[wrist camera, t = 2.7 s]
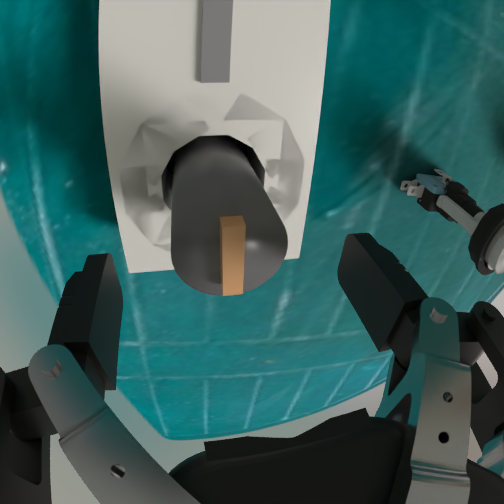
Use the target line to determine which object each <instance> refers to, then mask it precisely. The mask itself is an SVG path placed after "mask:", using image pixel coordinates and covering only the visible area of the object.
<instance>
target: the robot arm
mask: <svg viewBox="0 0 504 504" xmlns="http://www.w3.org/2000/svg"><path fill="white" fill-rule="evenodd" d="M338 280H339V283H340V285H341V287H342V289H343V290H344V292H345V294H346V295H347V297H348V299H349V300H350V302H351V304H352V306H353V307H354V309H355V311H356V312H357V314H358V316H359V318H360V319H361V321H362V323H363V324H364V326H365V328H366V330H367V331H368V333H369V335H370V337H371V339H372V340H373V342H374V344H375V346H376V347H377V349H378V351H379V352H382V351H385V350H389V349H392V351H393V352H394V353H393V355H392V357H391V359H390V364H389V369H388V374H387V379H386V384H385V389H384V393H383V398H382V401H381V404H380V407H379V408H378V410H377V412H376V414H375V416H374V417H369V415H368V413H367V411H366V408H363V409H360V410H357V411H353V412H351V413H347V414H343V415H340V416H337V417H333V418H330V419H328V420H326V421H325V422H323V423H321V424H319V425H318V426H315V427H314V428H312V429H310V430H308V431H306V432H304V433H302V434H300V435H298V436H296V437H293V438H268V437H267V438H266V437H249V436H246V437H240V438H233V439H225V440H218V441H208V442H204V445H205V451H203V452H200V453H198V454H196V455H193V456H192V457H189V458H187V459H186V460H184V461H183V462H181V463H180V464H178V465H177V466H176V467H175V468H173V469H172V470H171V471H170V472H169V473H167V472H166V471H165V470H164V469H163V468H162V467H161V466H160V465H159V464H158V463H157V462H156V461H155V460H154V459H153V458H152V457H151V456H150V455H149V453H147V451H146V450H145V449H144V448H143V447H142V446H141V445H140V444H139V442H138V441H137V440H136V439H135V438H134V437H133V436H132V434H131V433H130V432H129V431H128V430H127V428H126V427H125V426H124V425H123V424H122V422H121V421H120V420H119V419H118V418H117V417H116V415H115V414H114V413H113V411H112V410H111V409H110V408H109V406H108V405H107V404H106V403H105V401H104V394H105V390H116V376H117V361H118V348H119V337H120V328H121V319H122V310H123V296H122V290H121V286H120V283H119V279H118V276H117V272H116V269H115V265H114V261H113V258H112V255H111V254H110V253H106V254H95V255H88V257H87V259H86V262H85V265H84V268H83V271H79V272H75V273H74V274H73V275H72V276H71V278H70V279H69V280H68V281H67V282H66V285H65V288H64V291H63V294H62V297H61V300H60V303H59V308H58V309H57V313H56V316H55V319H54V323H53V326H52V330H51V334H50V338H49V341H48V345H47V346H45V347H43V348H41V349H40V350H38V351H37V352H36V353H35V354H34V356H33V357H32V359H31V360H30V363H29V366H28V367H25V368H22V369H18V370H15V371H12V372H9V373H5V372H4V371H3V370H2V368H1V367H0V504H52V502H51V485H50V435H53V434H56V433H59V435H60V439H59V444H60V446H61V448H62V450H63V452H64V453H65V455H66V456H67V458H68V460H69V461H70V462H71V464H72V465H73V467H74V468H75V470H76V471H77V473H78V474H79V476H80V477H81V478H82V480H83V481H84V483H85V484H86V485H87V487H88V488H89V489H90V491H91V492H92V493H93V495H94V496H95V497H96V498H97V500H98V501H99V502H100V504H504V317H503V316H502V315H501V313H500V312H499V311H498V310H497V309H496V308H495V307H494V306H493V305H491V304H490V303H487V302H484V301H479V302H477V303H475V305H474V306H473V308H472V310H471V311H470V313H467V312H456V311H455V310H454V308H453V307H452V306H451V305H450V304H449V303H447V302H446V301H444V300H442V299H440V298H435V297H430V298H429V297H428V296H427V295H426V293H425V292H424V291H423V290H422V288H421V287H420V286H419V284H418V283H417V282H416V281H415V280H414V278H413V277H412V276H411V275H410V273H409V272H407V271H406V268H405V267H404V266H403V265H402V264H400V261H399V260H398V259H397V258H396V257H395V255H394V254H393V253H392V252H390V251H389V250H387V249H386V248H384V247H383V246H381V245H379V244H378V243H377V241H376V240H375V239H374V238H373V237H372V236H371V235H370V234H369V233H357V234H348V235H347V237H346V239H345V243H344V247H343V251H342V255H341V258H340V262H339V266H338ZM483 352H485V353H486V355H487V357H488V358H489V360H490V361H491V363H492V365H493V366H494V368H495V370H496V371H497V374H498V382H497V384H496V386H495V387H494V388H493V389H492V388H491V386H490V384H489V383H488V381H487V379H486V377H485V376H484V374H483V372H482V370H481V369H480V367H479V366H478V364H477V362H476V361H477V360H478V359H479V357H480V356H481V355H482V354H483ZM470 427H471V429H472V431H473V433H474V435H475V437H476V440H477V442H478V444H479V446H480V449H481V451H482V457H480V458H479V459H478V461H477V463H475V462H473V461H471V460H469V459H467V455H468V446H469V434H470Z"/></svg>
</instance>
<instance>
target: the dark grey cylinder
mask: <svg viewBox="0 0 504 504" xmlns="http://www.w3.org/2000/svg"><path fill="white" fill-rule="evenodd" d="M287 248H288V236H287V232H286V229H285V226H284V224H283V222H282V220H281V218H280V217H279V215H278V213H277V211H276V209H275V208H274V206H273V204H272V202H271V200H270V199H269V197H268V195H267V193H266V191H265V190H264V188H263V186H262V184H261V183H260V181H259V179H258V177H257V175H256V174H255V172H254V170H253V168H252V167H251V165H250V163H249V161H248V160H247V158H246V156H245V155H244V153H243V151H242V149H241V148H240V146H239V144H238V142H237V141H236V139H235V138H233V137H232V136H230V135H211V136H198V137H197V138H195V139H193V140H192V141H190V142H188V143H187V144H185V145H184V146H182V147H180V148H179V149H177V150H176V151H175V152H174V165H173V183H172V208H171V260H172V264H173V267H174V269H175V271H176V273H177V274H178V276H179V277H180V278H181V279H182V280H183V281H184V282H185V283H186V284H187V285H189V286H190V287H192V288H194V289H196V290H198V291H200V292H203V293H207V294H211V295H222V296H227V295H236V294H243V293H244V292H247V291H250V290H252V289H254V288H256V287H258V286H260V285H261V284H263V283H264V282H266V281H267V280H268V279H270V278H271V277H272V276H273V275H274V274H275V273H276V272H277V270H278V269H279V268H280V266H281V265H282V263H283V261H284V259H285V256H286V253H287Z"/></svg>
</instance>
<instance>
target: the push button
mask: <svg viewBox="0 0 504 504" xmlns="http://www.w3.org/2000/svg"><path fill="white" fill-rule="evenodd" d="M434 171H435V172H437V173H438V174H440V175H441V176H443V177H441V176H434V175H426V174H417V176H416V179H415V180H413V181H402V184H401V188H400V189H401V190H408V191H407V195H412V196H416V197H417V198H418V200H417V203H418V204H420V205H421V206H422V207H423V208H424V209H425V210H427V211H435V212H439V213H440V214H441V215H442V216H443V217H445V218H446V219H447V220H448V221H455V222H456V223H459V224H460V225H461V226H462V227H463V228H464V229H465V230H466V231H468V232H469V234H470V243H469V247H468V249H469V252H470V256H471V259H472V260H473V261H474V263H475V265H476V269H477V270H478V271H479V272H480V273H481V274H482V275H487V274H490V273H492V272H494V271H495V272H496V273H499V274H501V273H503V272H504V204H500V205H498V206H495V207H493V208H491V209H489V210H487V211H486V212H485V211H483V210H482V209H481V208H480V207H479V206H477V205H476V201H475V200H473V199H472V198H471V197H470V196H468V192H469V191H468V189H466V188H465V187H464V186H463V185H462V184H460V183H458V182H456V181H455V180H453V179H452V177H449V175H448V174H446V173H445V172H443V171H441V170H438V169H434ZM440 172H441V173H440ZM405 184H408V186H407V187H406V188H405V187H404V186H405ZM411 192H412V193H411Z"/></svg>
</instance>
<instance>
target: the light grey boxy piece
mask: <svg viewBox="0 0 504 504" xmlns="http://www.w3.org/2000/svg"><path fill="white" fill-rule="evenodd" d="M330 1H331V0H100V1H99V76H100V94H101V107H102V119H103V129H104V138H105V146H106V154H107V161H108V168H109V175H110V181H111V187H112V193H113V199H114V205H115V210H116V215H117V220H118V225H119V230H120V235H121V240H122V244H123V249H124V253H125V257H126V261H127V266H128V270H129V273H137V272H149V271H161V270H173V269H174V267H173V264H172V260H171V208H172V183H173V176H172V175H171V173H170V172H169V170H168V169H167V164H168V162H169V160H170V158H171V156H172V154H173V152H174V151H176V150H177V149H179V148H180V147H182V146H184V145H185V144H187V143H188V142H190V141H192V140H193V139H195V138H197V137H198V136H211V135H230V136H232V137H233V138H235V139H237V140H239V141H241V142H243V143H245V144H247V160H248V161H249V163H250V165H251V167H252V168H253V170H254V172H255V174H256V175H257V177H258V179H259V181H260V183H261V184H262V186H263V188H264V190H265V191H266V193H267V195H268V197H269V199H270V200H271V202H272V204H273V206H274V208H275V209H276V211H277V213H278V215H279V217H280V218H281V220H282V222H283V224H284V226H285V229H286V232H287V236H288V248H287V253H286V256H285V259H295V258H299V254H300V249H301V243H302V237H303V231H304V224H305V218H306V212H307V205H308V199H309V192H310V186H311V179H312V172H313V165H314V157H315V150H316V142H317V134H318V126H319V118H320V110H321V101H322V92H323V83H324V73H325V63H326V52H327V41H328V29H329V15H330ZM285 259H284V260H285Z"/></svg>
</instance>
